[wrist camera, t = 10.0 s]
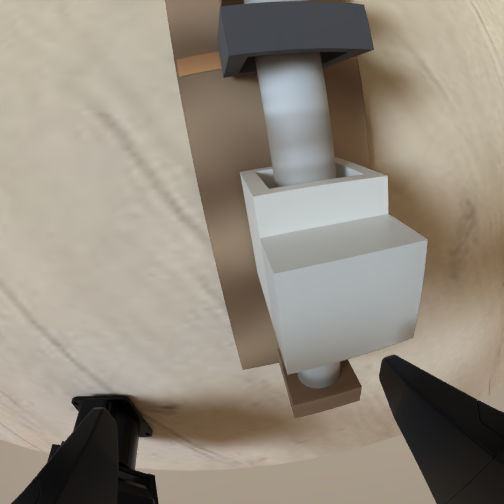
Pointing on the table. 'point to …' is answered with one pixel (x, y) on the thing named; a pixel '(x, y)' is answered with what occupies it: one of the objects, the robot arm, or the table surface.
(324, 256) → the sleeve
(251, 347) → the pipe rig
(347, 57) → the dark square collar
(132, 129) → the table surface
